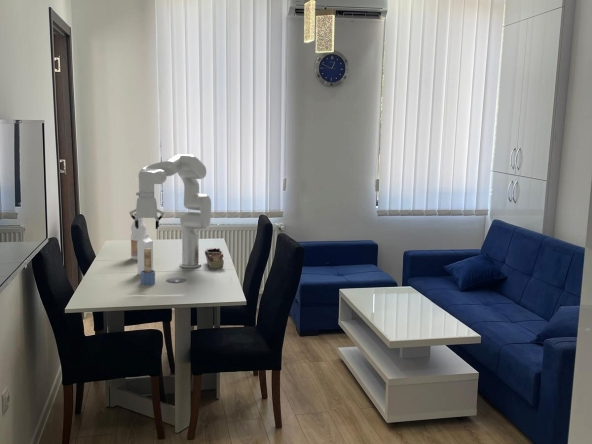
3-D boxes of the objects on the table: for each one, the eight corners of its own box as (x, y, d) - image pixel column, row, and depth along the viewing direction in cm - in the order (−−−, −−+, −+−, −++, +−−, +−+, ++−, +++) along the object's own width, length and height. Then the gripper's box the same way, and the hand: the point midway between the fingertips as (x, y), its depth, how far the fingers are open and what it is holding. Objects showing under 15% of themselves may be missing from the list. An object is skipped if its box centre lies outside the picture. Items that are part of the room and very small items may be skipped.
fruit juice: (135, 261, 368) (134, 214, 364) (128, 258, 375) (127, 212, 371) (149, 259, 374) (149, 213, 369) (143, 256, 381) (142, 211, 377)
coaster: (166, 279, 330) (166, 277, 329) (187, 279, 331) (187, 277, 331) (164, 284, 319) (164, 283, 319) (186, 284, 320) (186, 283, 320)
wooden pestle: (145, 282, 320) (144, 248, 317) (152, 282, 320) (151, 248, 317) (144, 284, 316) (143, 249, 313) (151, 284, 317) (150, 249, 314)
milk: (137, 275, 336) (136, 235, 332) (144, 272, 342) (144, 234, 338) (146, 276, 334) (145, 236, 330) (153, 274, 339) (152, 235, 335)
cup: (142, 282, 322) (141, 269, 320) (156, 282, 322) (155, 269, 321) (140, 286, 314) (139, 273, 313) (154, 286, 315) (154, 273, 314)
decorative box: (200, 270, 351) (200, 253, 350) (199, 261, 371) (199, 246, 369) (223, 269, 354) (223, 253, 352) (221, 261, 373) (221, 245, 372)
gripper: (127, 195, 306) (128, 229, 309) (163, 196, 308) (163, 229, 310) (130, 193, 313) (130, 227, 316) (164, 194, 315) (165, 227, 318)
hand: (147, 228), depth 313 cm, fingers open, 9 cm apart
